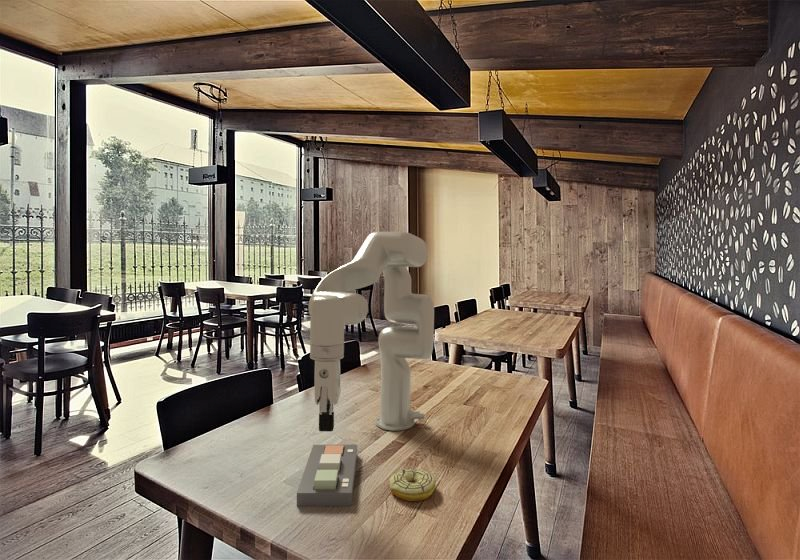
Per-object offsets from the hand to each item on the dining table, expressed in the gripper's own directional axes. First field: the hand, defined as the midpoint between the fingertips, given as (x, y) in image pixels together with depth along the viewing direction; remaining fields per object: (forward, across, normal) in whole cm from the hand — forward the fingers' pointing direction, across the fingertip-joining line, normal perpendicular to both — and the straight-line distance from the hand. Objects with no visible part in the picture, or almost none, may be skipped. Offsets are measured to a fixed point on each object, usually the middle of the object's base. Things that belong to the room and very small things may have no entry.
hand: (326, 429), depth 103 cm
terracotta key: (+15, +16, 0) cm, 22 cm away
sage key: (+13, 0, 0) cm, 14 cm away
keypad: (+15, +8, 0) cm, 17 cm away
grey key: (+13, +8, 0) cm, 16 cm away
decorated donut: (+16, +2, -20) cm, 26 cm away
